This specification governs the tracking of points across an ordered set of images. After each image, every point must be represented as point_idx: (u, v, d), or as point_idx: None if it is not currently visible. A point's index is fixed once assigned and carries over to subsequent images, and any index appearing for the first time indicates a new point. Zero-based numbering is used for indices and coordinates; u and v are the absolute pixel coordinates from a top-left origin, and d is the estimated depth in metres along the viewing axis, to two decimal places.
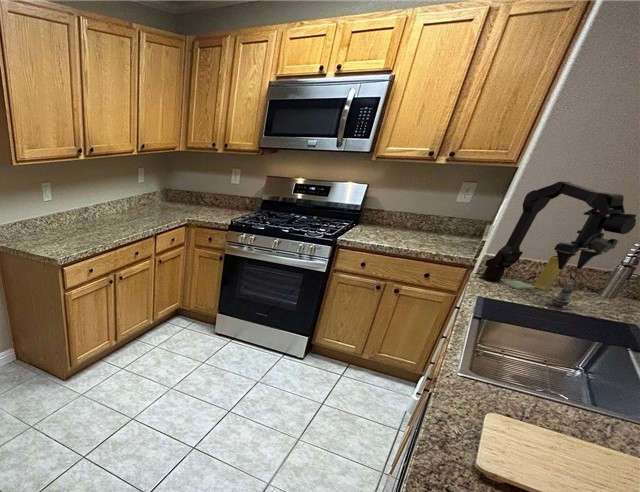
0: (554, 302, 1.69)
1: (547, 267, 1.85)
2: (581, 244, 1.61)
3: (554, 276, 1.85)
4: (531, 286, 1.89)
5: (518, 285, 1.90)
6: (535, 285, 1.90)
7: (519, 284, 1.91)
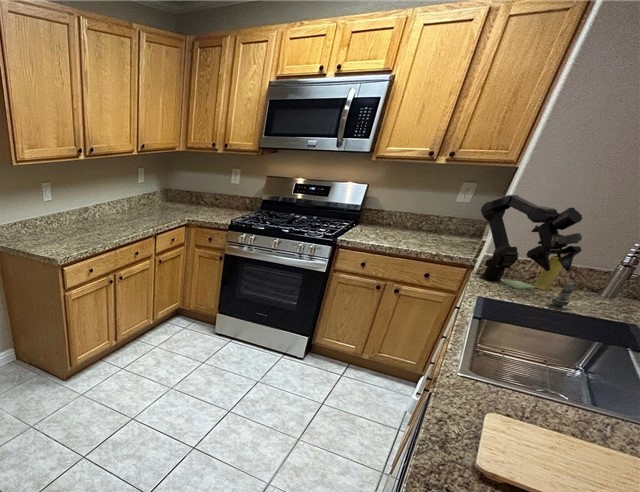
0: (554, 302, 1.69)
1: None
2: (549, 247, 1.70)
3: (554, 276, 1.85)
4: (531, 286, 1.89)
5: (518, 285, 1.90)
6: (535, 285, 1.90)
7: (519, 284, 1.91)
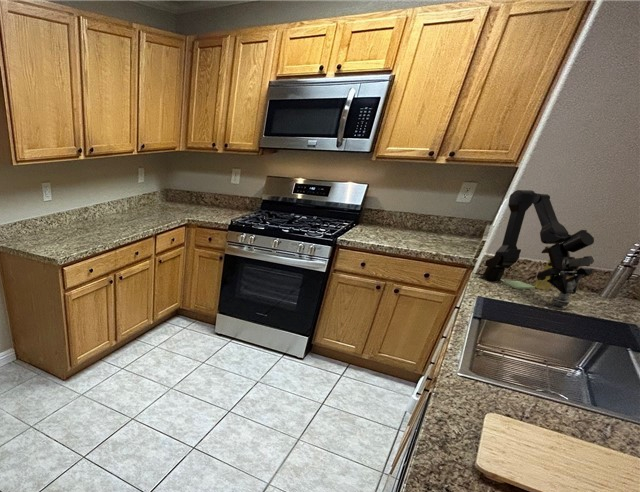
0: (554, 302, 1.69)
1: (547, 267, 1.85)
2: (560, 269, 1.67)
3: None
4: (531, 286, 1.89)
5: (518, 285, 1.90)
6: (535, 285, 1.90)
7: (519, 284, 1.91)
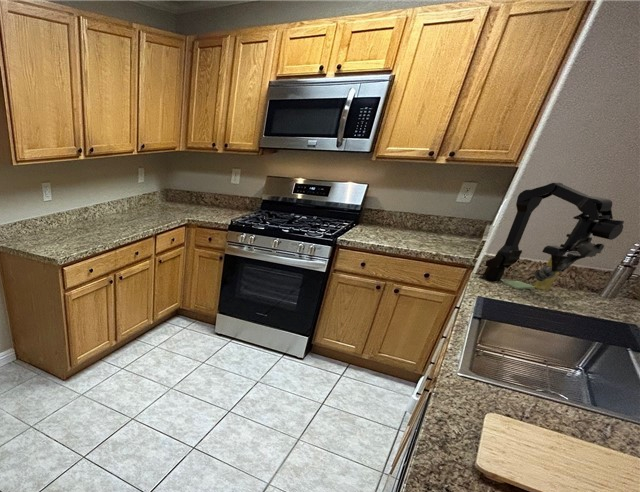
0: (540, 273, 1.77)
1: None
2: (569, 247, 1.66)
3: (554, 276, 1.85)
4: (531, 286, 1.89)
5: (518, 285, 1.90)
6: (535, 285, 1.90)
7: (519, 284, 1.91)
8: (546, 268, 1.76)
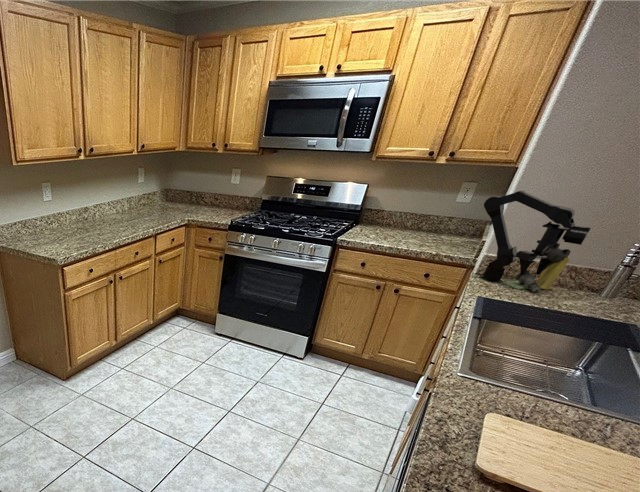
0: (520, 278, 1.89)
1: (549, 266, 1.85)
2: (539, 253, 1.80)
3: (556, 276, 1.85)
4: None
5: (518, 285, 1.90)
6: None
7: (519, 284, 1.91)
8: (527, 278, 1.87)
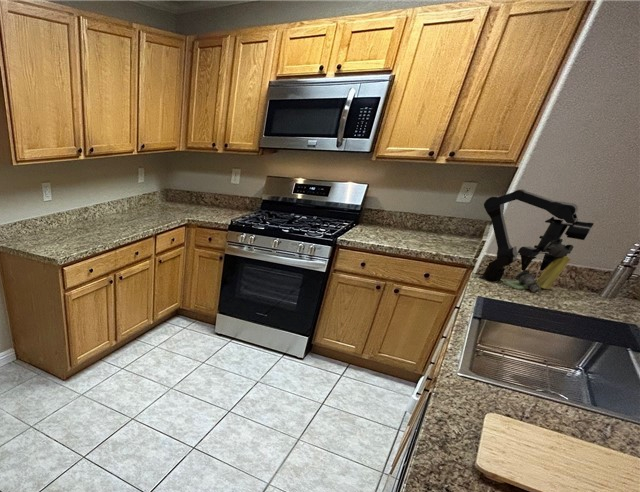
0: (520, 278, 1.89)
1: (550, 266, 1.85)
2: (542, 248, 1.79)
3: (556, 275, 1.85)
4: None
5: (518, 285, 1.90)
6: None
7: (519, 284, 1.91)
8: (527, 278, 1.87)
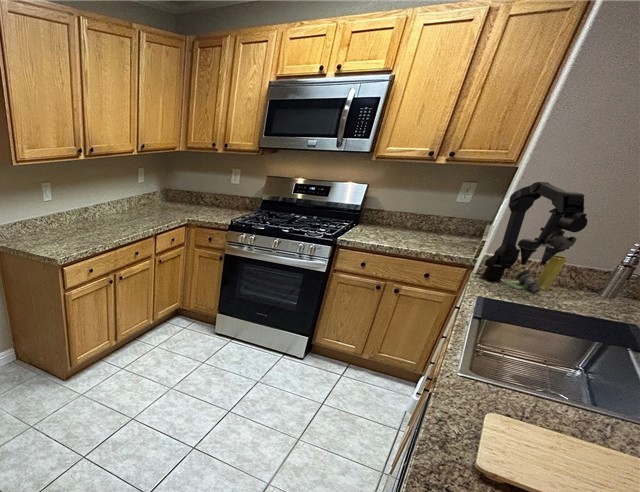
0: (520, 278, 1.89)
1: (547, 267, 1.85)
2: (542, 241, 1.69)
3: (554, 276, 1.85)
4: None
5: (518, 285, 1.90)
6: None
7: (519, 284, 1.91)
8: (527, 278, 1.87)
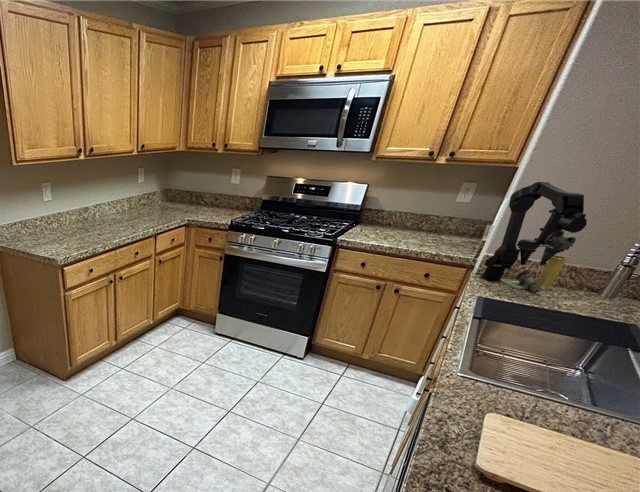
0: (520, 278, 1.89)
1: (547, 267, 1.85)
2: (542, 241, 1.69)
3: (554, 276, 1.85)
4: None
5: (518, 285, 1.90)
6: None
7: (519, 284, 1.91)
8: (527, 278, 1.87)
